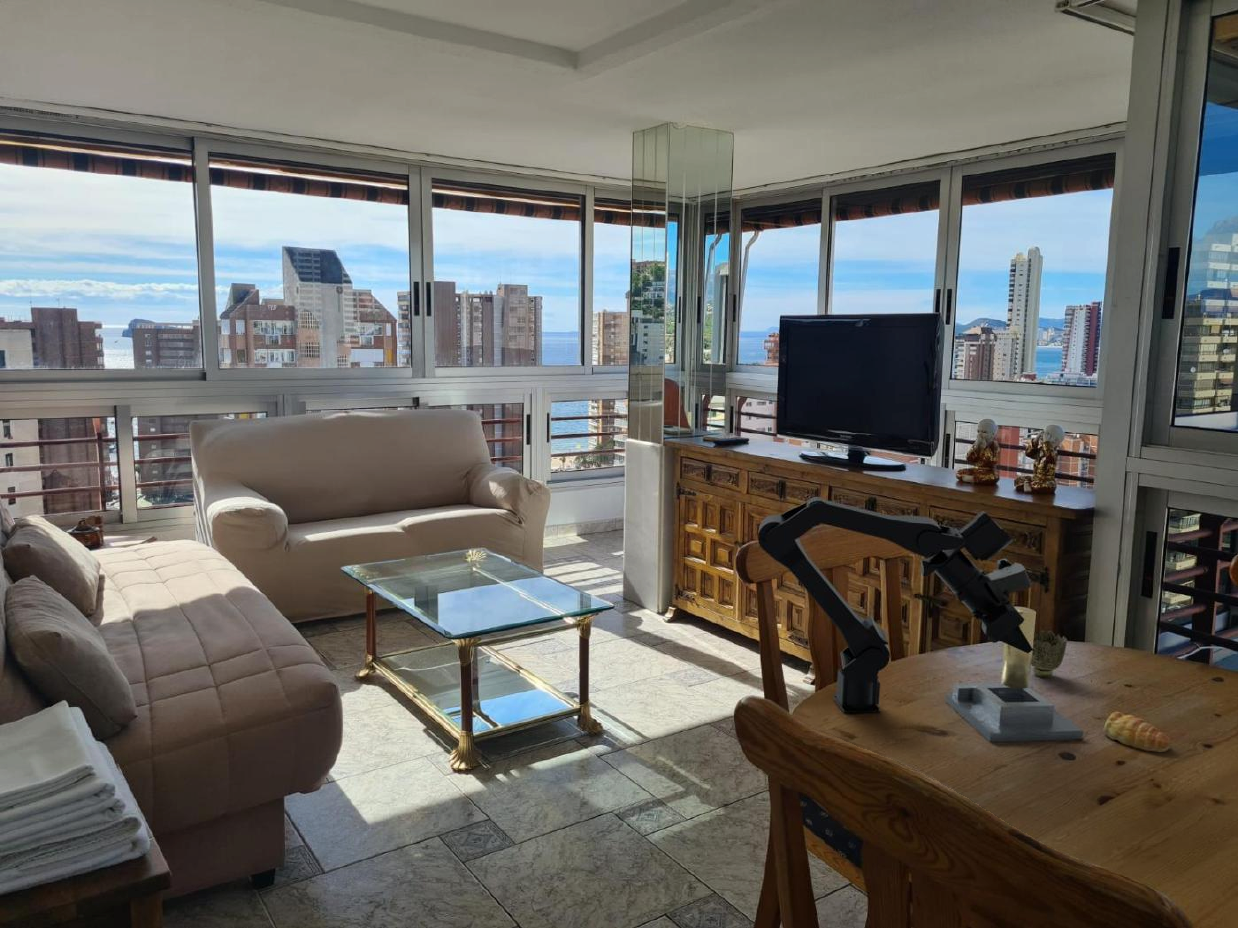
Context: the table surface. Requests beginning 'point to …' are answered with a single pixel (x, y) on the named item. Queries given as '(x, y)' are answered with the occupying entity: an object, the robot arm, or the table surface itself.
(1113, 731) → the pastry
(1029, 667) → the sleeve
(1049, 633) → the cup
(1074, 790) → the table surface
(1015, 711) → the jig
